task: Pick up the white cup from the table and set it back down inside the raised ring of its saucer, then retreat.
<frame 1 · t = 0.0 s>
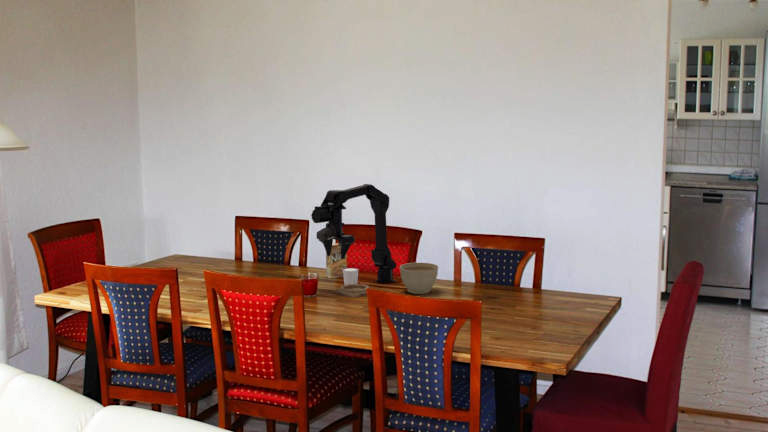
hand: (335, 257, 342), 15 cm above the table, tool pointing down, fingers open, 9 cm apart
white cup: (350, 285, 356), on the table
saucer: (354, 292, 342), on the table
planter bowl: (418, 292, 344), on the table
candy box: (336, 277, 373), on the table
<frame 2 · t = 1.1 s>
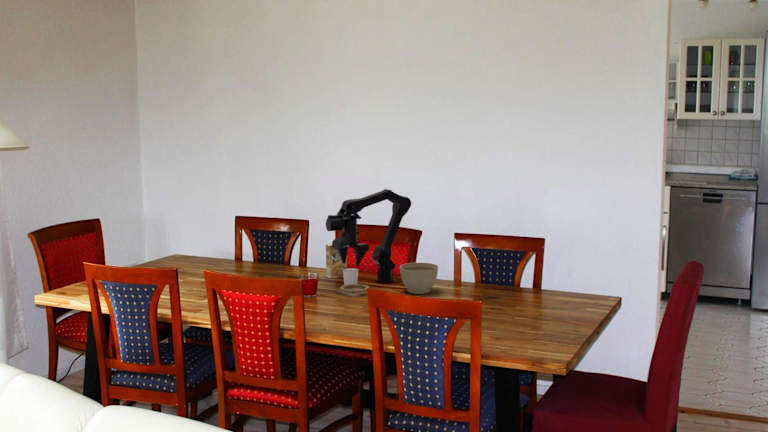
hand: (350, 264, 355), 9 cm above the table, tool pointing down, fingers open, 9 cm apart
nothing on the table moved.
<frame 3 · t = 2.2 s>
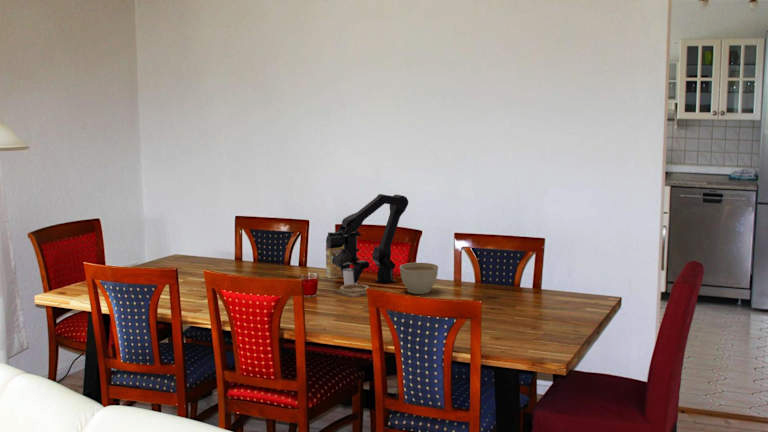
hand: (350, 281, 356), 2 cm above the table, tool pointing down, fingers closed on white cup, 6 cm apart
white cup: (350, 285, 356), on the table, touching gripper
everything else where it was.
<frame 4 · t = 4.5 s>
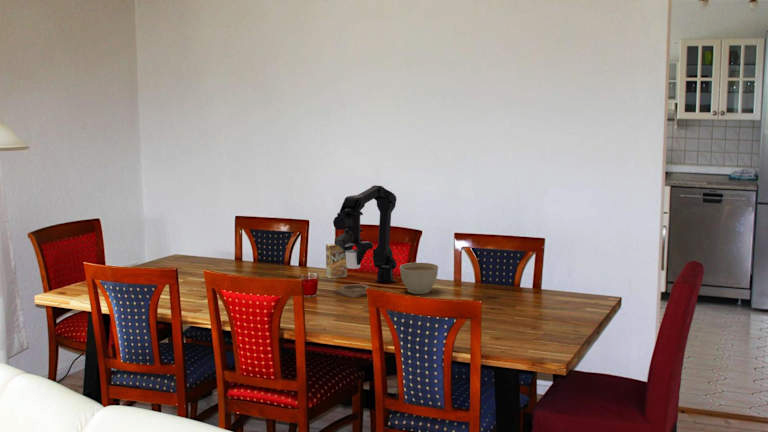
hand: (353, 263, 341), 12 cm above the table, tool pointing down, fingers closed on white cup, 6 cm apart
white cup: (353, 267, 341), point 10 cm above the table, touching gripper
everything else where it was.
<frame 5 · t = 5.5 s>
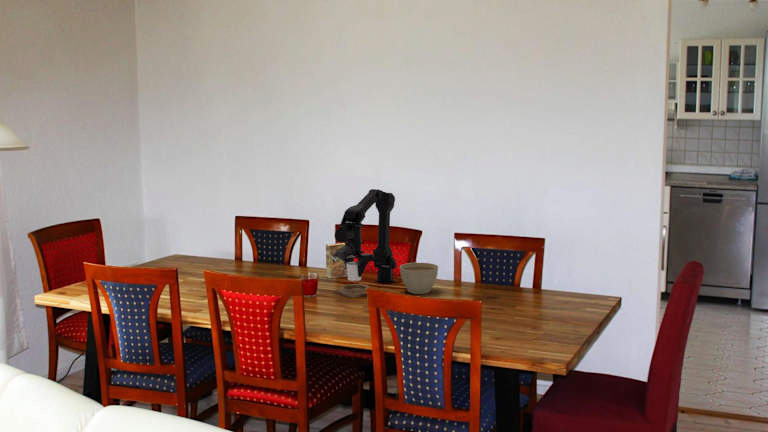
hand: (354, 275, 341), 7 cm above the table, tool pointing down, fingers closed on white cup, 6 cm apart
white cup: (354, 279, 341), point 6 cm above the table, touching gripper
everything else where it was.
when the fingers open (4 cm above the table, at t = 6.6 s): white cup drops 1 cm, resting on saucer.
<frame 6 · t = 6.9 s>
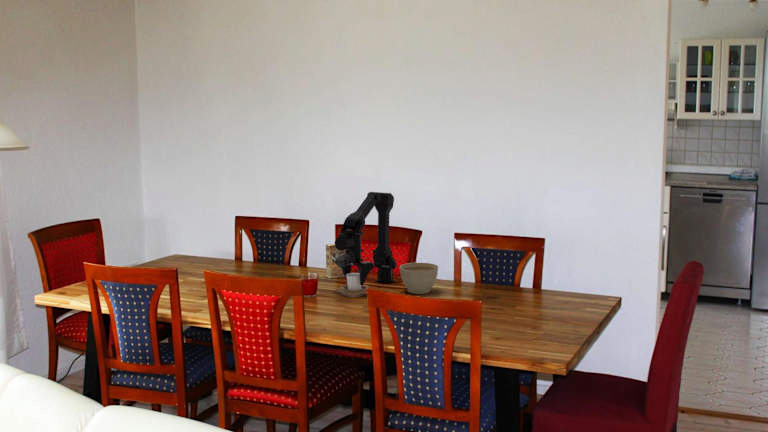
hand: (354, 283, 342), 4 cm above the table, tool pointing down, fingers open, 9 cm apart
white cup: (354, 291, 342), point 1 cm above the table, touching saucer
everything else where it was.
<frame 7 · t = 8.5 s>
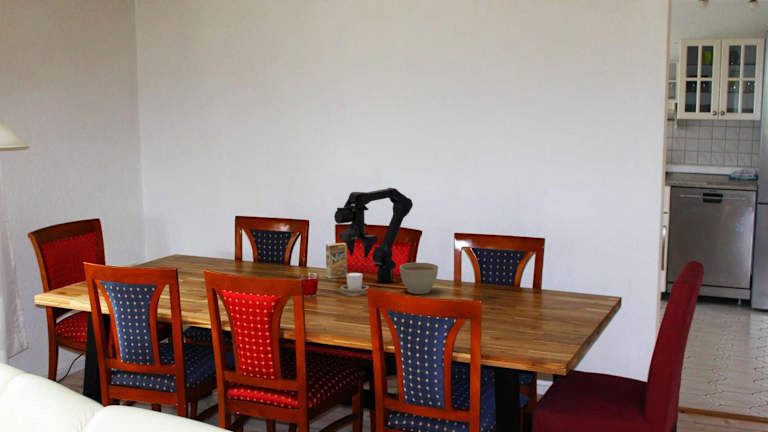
hand: (358, 256, 353), 13 cm above the table, tool pointing down, fingers open, 9 cm apart
nothing on the table moved.
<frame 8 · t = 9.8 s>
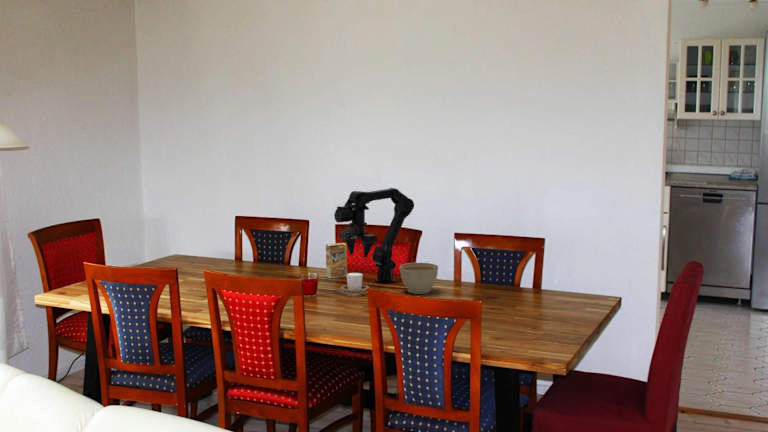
hand: (358, 256, 353), 13 cm above the table, tool pointing down, fingers open, 9 cm apart
nothing on the table moved.
at the end: white cup 0.0 cm off-centre on the saucer, point 0.8 cm above the saucer's base; white cup tilted 0°; the gripper is holding nothing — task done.
